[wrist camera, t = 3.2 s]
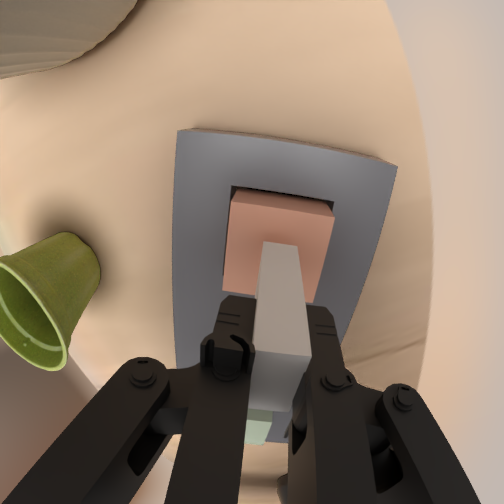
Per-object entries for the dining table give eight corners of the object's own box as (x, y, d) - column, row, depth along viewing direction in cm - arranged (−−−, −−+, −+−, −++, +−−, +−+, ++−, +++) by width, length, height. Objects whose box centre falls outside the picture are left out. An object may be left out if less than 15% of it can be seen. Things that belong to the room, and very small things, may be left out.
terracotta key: (308, 277, 18) (312, 303, 16) (229, 265, 18) (222, 290, 16) (325, 201, 16) (335, 217, 13) (238, 188, 16) (230, 201, 14)
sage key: (264, 423, 26) (262, 445, 24) (216, 416, 26) (212, 438, 24) (273, 397, 24) (272, 422, 21) (218, 390, 24) (213, 414, 21)
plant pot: (99, 204, 19) (23, 255, 12) (132, 308, 23) (87, 381, 16) (27, 219, 21) (-38, 262, 13) (59, 305, 25) (13, 360, 17)
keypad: (290, 422, 29) (291, 443, 27) (188, 408, 30) (183, 428, 27) (379, 158, 17) (397, 166, 14) (192, 128, 17) (177, 130, 14)
